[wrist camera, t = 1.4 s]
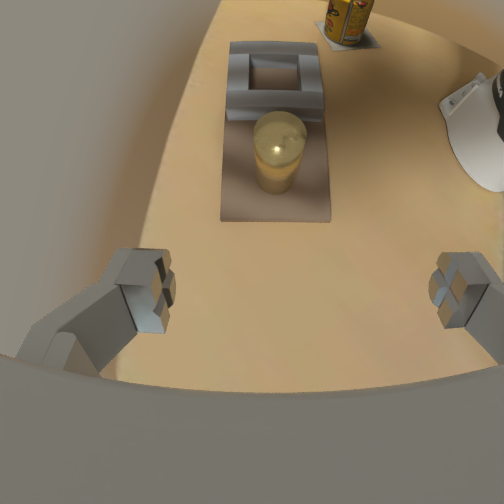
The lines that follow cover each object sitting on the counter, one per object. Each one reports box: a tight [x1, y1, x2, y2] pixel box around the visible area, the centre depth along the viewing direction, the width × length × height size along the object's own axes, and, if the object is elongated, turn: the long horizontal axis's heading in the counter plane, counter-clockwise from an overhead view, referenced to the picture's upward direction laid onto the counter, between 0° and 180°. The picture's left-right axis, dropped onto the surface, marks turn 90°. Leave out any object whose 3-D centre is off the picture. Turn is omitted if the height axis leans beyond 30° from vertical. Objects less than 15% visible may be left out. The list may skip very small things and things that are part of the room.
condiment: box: [315, 0, 381, 51], centre depth 33 cm, size 7×8×12 cm
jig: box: [220, 41, 331, 223], centre depth 35 cm, size 24×12×4 cm, turn 179°
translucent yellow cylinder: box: [254, 111, 307, 195], centre depth 30 cm, size 4×4×10 cm
